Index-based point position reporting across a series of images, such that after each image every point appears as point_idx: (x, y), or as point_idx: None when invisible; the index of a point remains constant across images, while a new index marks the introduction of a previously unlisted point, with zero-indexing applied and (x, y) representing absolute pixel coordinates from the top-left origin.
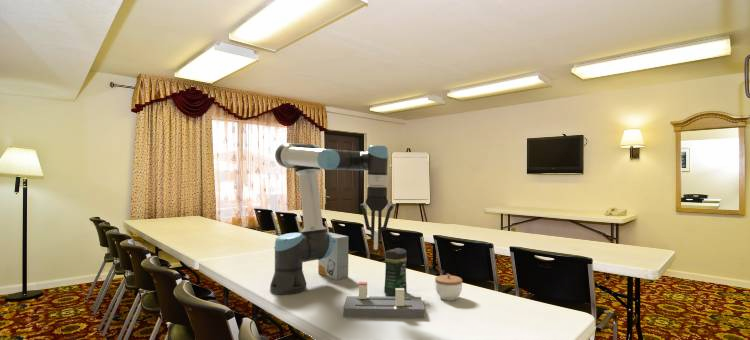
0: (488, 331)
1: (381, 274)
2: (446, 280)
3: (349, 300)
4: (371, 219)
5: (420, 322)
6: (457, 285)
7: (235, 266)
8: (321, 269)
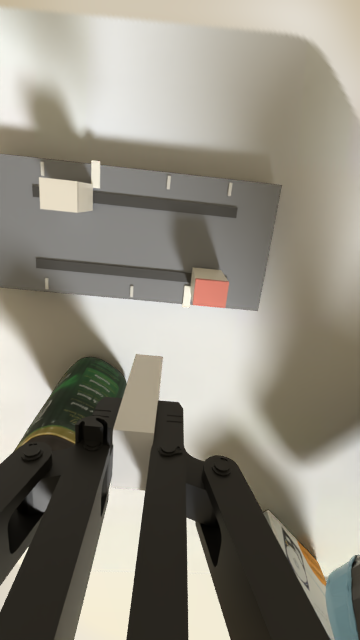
0: None
1: (127, 549)
2: None
3: (252, 266)
4: (184, 574)
5: (18, 117)
6: None
7: None
8: (315, 567)
